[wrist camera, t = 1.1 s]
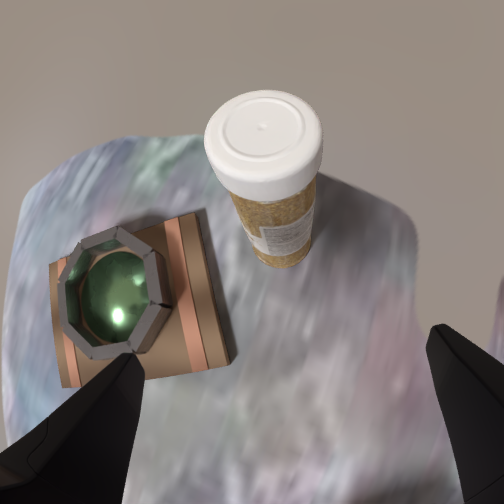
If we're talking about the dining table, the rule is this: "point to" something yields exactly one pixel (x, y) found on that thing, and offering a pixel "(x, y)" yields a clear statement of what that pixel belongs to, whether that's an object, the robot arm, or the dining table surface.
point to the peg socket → (114, 295)
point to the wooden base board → (184, 310)
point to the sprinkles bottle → (269, 169)
